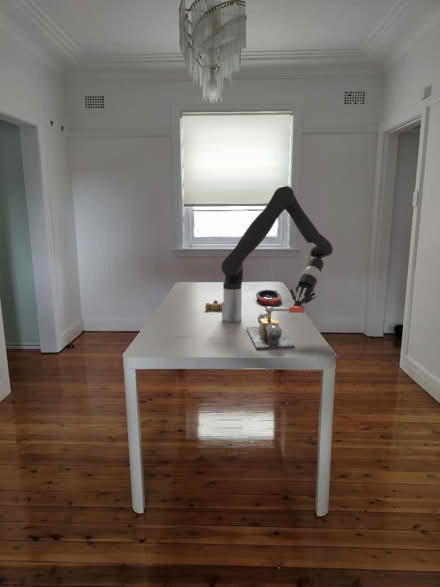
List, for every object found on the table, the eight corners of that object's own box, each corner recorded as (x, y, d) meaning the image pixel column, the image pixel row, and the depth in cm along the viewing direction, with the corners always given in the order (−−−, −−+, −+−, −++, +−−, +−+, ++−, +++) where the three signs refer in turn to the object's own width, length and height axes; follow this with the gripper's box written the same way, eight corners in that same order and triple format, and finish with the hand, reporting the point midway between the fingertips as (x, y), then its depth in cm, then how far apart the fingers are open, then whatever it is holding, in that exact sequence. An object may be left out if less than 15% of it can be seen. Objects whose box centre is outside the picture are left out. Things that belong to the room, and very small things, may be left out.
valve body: (246, 329, 181) (246, 304, 178) (279, 328, 182) (279, 303, 180) (256, 349, 155) (256, 321, 152) (294, 348, 156) (295, 320, 153)
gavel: (207, 297, 234) (223, 297, 234) (207, 305, 235) (223, 305, 234) (205, 304, 213) (223, 304, 213) (205, 311, 214) (223, 311, 214)
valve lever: (265, 312, 164) (265, 307, 164) (265, 310, 168) (265, 305, 167) (304, 313, 163) (304, 308, 162) (303, 310, 166) (303, 306, 166)
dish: (279, 295, 251) (279, 288, 250) (282, 307, 221) (283, 299, 220) (255, 295, 252) (255, 288, 251) (256, 307, 222) (256, 299, 221)
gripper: (294, 271, 175) (279, 302, 168) (320, 274, 167) (306, 307, 160) (299, 281, 180) (285, 311, 174) (325, 284, 172) (312, 316, 165)
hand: (295, 309), depth 167 cm, fingers closed
